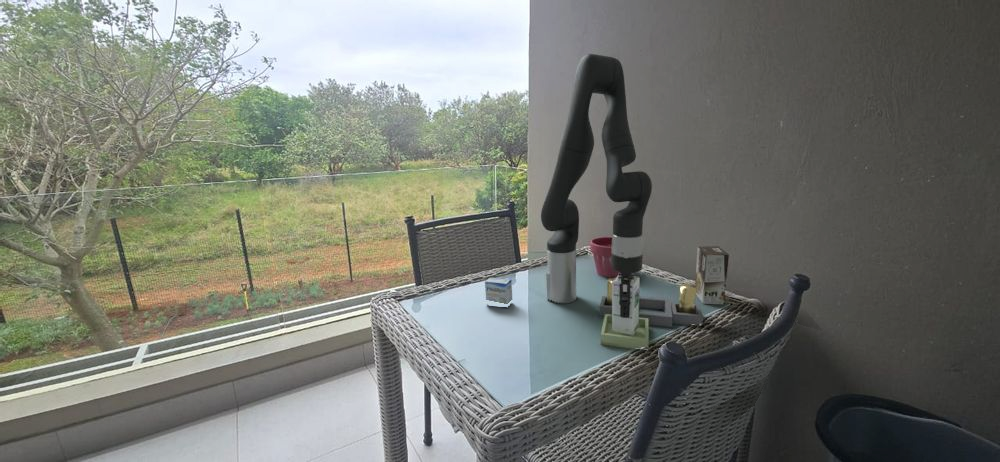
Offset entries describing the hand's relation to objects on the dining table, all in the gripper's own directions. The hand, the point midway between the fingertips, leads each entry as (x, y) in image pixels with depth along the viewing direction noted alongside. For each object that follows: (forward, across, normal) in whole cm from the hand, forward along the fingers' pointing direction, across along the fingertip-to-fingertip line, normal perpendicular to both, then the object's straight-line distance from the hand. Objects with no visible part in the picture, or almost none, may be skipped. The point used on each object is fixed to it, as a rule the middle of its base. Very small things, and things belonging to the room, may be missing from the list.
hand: (625, 311), depth 101 cm
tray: (+7, 0, 0) cm, 7 cm away
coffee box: (+8, -30, +24) cm, 39 cm away
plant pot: (+8, -46, -8) cm, 47 cm away
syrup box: (+5, 0, 0) cm, 5 cm away
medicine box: (+8, -10, -40) cm, 42 cm away
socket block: (+7, -14, +6) cm, 17 cm away
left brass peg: (+7, -14, -4) cm, 16 cm away
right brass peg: (+7, -14, +16) cm, 22 cm away
